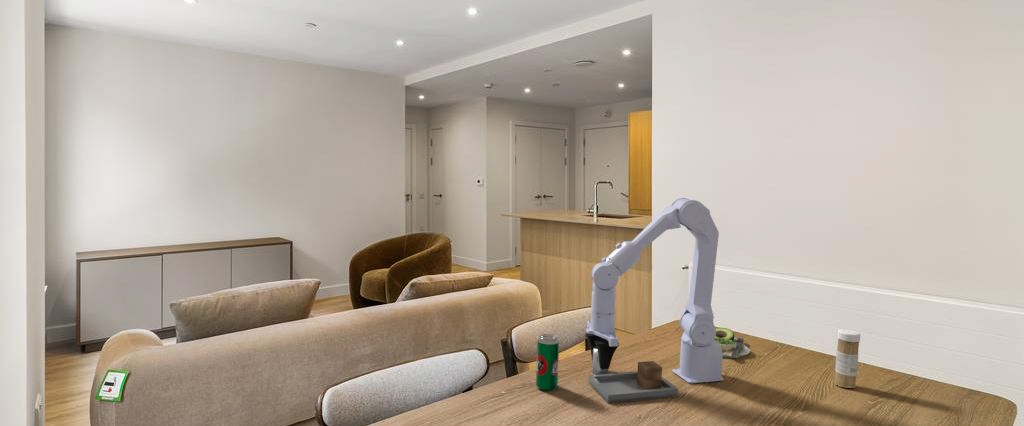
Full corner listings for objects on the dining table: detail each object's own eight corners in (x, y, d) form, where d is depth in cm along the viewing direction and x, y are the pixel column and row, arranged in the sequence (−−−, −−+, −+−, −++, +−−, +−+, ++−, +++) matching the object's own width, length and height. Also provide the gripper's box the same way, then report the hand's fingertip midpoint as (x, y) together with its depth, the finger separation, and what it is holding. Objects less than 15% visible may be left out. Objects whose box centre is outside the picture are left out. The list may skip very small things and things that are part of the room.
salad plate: (766, 364, 140) (767, 348, 139) (698, 362, 140) (699, 345, 140) (738, 340, 159) (739, 326, 158) (678, 338, 160) (679, 323, 159)
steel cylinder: (604, 368, 133) (605, 345, 133) (611, 374, 129) (612, 351, 129) (589, 369, 132) (590, 346, 132) (596, 375, 128) (597, 352, 128)
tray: (653, 377, 128) (653, 370, 128) (677, 396, 118) (678, 388, 118) (588, 382, 124) (588, 375, 124) (607, 403, 114) (608, 395, 113)
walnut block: (652, 381, 124) (653, 360, 124) (661, 388, 120) (662, 367, 120) (637, 382, 123) (638, 362, 123) (645, 389, 120) (646, 368, 119)
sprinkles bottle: (847, 382, 128) (852, 328, 127) (860, 390, 124) (865, 334, 123) (829, 381, 128) (833, 328, 127) (841, 389, 124) (846, 334, 122)
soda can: (556, 393, 118) (558, 341, 117) (534, 390, 119) (535, 339, 118) (558, 384, 123) (560, 334, 122) (537, 381, 124) (539, 332, 123)
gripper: (576, 304, 135) (575, 355, 137) (599, 321, 121) (597, 377, 123) (602, 303, 137) (600, 354, 138) (627, 319, 123) (625, 375, 124)
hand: (600, 365), depth 131 cm, fingers closed on steel cylinder, 4 cm apart
